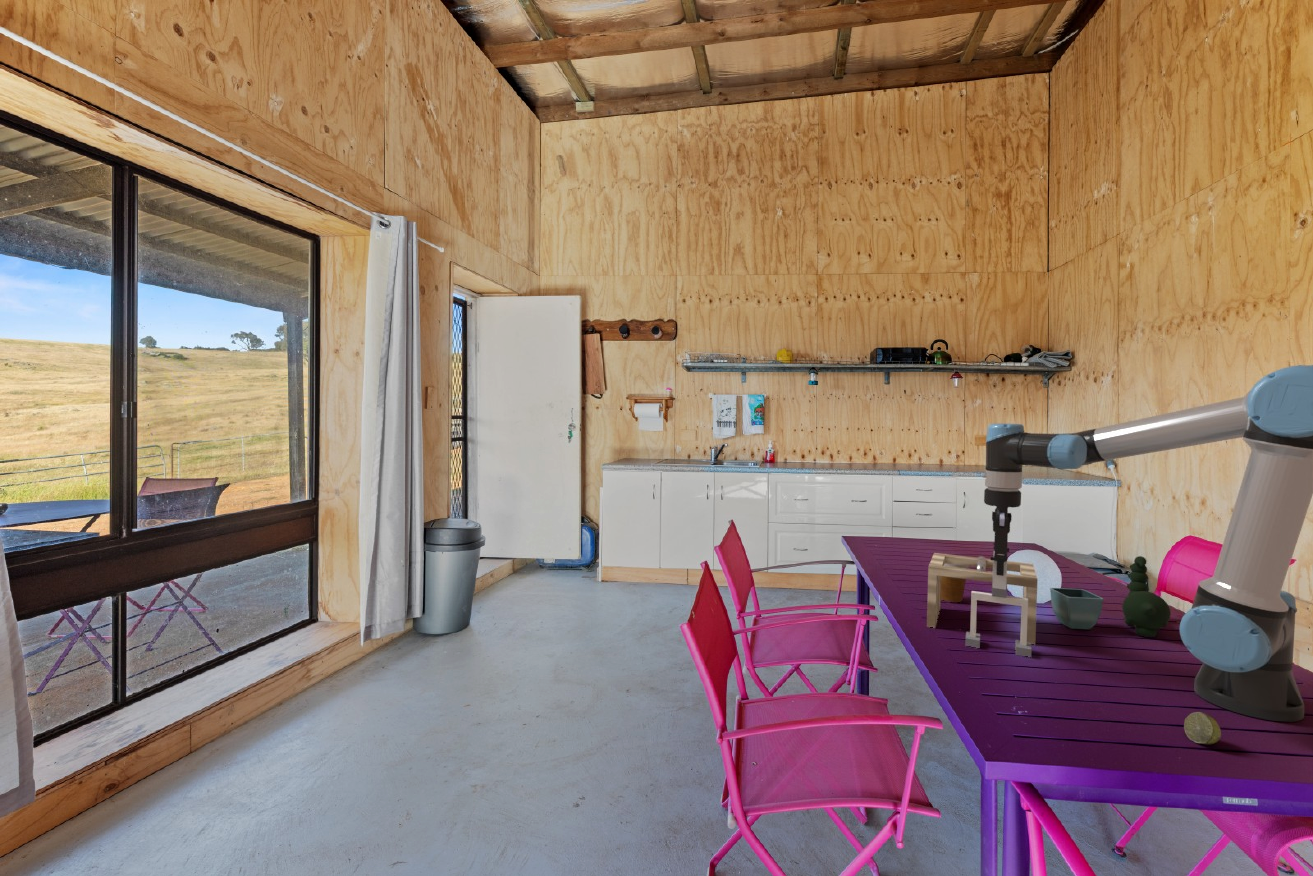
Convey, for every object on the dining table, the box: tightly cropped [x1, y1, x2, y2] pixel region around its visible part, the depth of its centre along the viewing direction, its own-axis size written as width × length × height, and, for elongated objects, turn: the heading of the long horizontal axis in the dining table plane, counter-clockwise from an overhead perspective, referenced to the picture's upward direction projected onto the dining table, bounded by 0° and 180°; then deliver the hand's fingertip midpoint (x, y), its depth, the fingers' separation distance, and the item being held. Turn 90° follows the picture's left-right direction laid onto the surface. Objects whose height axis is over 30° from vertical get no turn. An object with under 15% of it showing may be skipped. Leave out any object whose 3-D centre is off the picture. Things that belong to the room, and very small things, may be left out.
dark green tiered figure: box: [1121, 555, 1172, 638], centre depth 154 cm, size 9×19×25 cm
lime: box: [1183, 711, 1222, 745], centre depth 101 cm, size 4×5×5 cm
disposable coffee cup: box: [941, 563, 970, 603], centre depth 178 cm, size 10×10×12 cm
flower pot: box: [1049, 587, 1104, 630], centre depth 156 cm, size 9×9×9 cm
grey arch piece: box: [964, 578, 1032, 658], centre depth 141 cm, size 5×13×16 cm, turn 60°
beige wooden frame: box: [926, 552, 1039, 646], centre depth 157 cm, size 18×24×17 cm
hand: (999, 583), depth 141 cm, fingers open, 8 cm apart
